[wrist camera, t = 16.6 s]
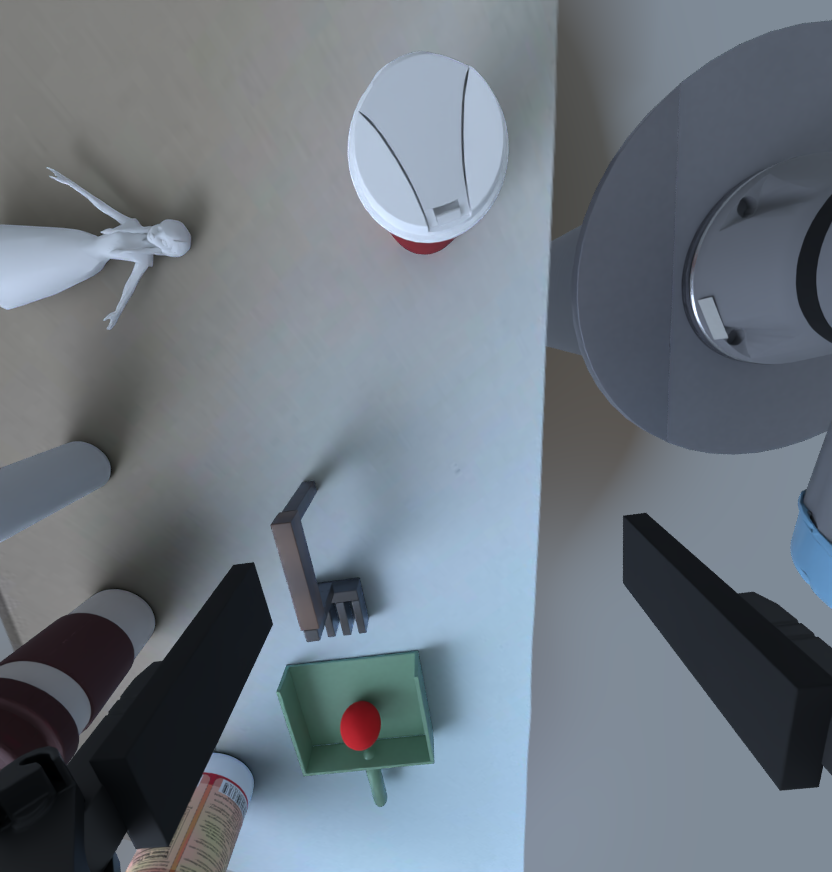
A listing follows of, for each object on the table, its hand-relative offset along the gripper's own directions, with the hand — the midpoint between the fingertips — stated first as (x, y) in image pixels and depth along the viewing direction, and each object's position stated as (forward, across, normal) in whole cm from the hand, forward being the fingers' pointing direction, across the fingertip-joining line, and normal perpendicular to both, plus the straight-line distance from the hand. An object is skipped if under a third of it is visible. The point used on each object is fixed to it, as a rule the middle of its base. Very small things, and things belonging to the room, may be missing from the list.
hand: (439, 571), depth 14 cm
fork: (+23, -12, -13) cm, 29 cm away
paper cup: (+23, +2, +16) cm, 28 cm away
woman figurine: (+23, -25, +17) cm, 38 cm away
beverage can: (+23, -32, 0) cm, 39 cm away
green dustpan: (+23, -12, -36) cm, 44 cm away
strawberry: (+20, -12, -33) cm, 40 cm away
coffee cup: (+23, -35, -17) cm, 45 cm away
